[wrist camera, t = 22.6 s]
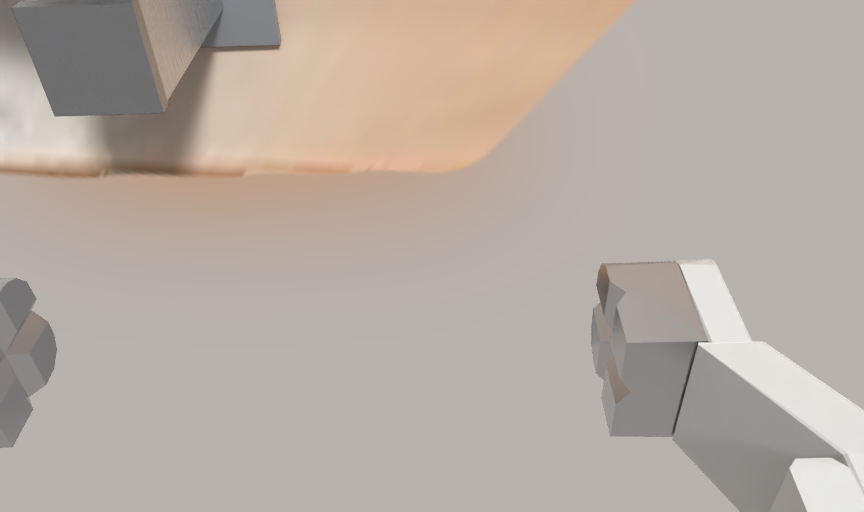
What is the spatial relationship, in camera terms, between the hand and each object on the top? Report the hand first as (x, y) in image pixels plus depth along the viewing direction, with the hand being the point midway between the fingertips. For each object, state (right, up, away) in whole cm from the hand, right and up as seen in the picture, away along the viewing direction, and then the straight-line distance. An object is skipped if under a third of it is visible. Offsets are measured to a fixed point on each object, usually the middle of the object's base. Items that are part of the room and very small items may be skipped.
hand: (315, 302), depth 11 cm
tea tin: (-14, +18, +33) cm, 40 cm away
